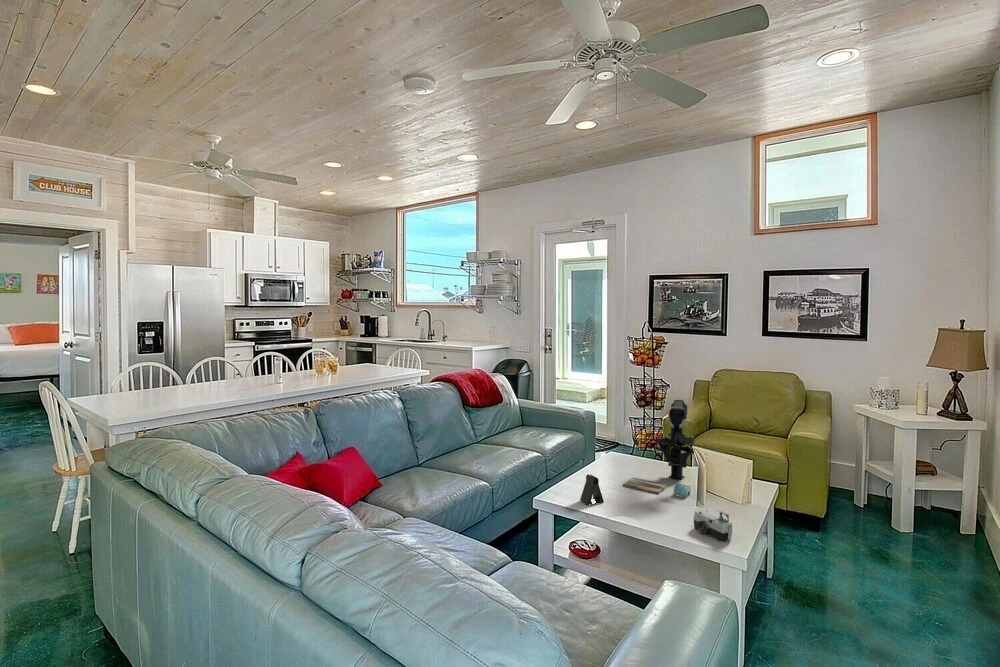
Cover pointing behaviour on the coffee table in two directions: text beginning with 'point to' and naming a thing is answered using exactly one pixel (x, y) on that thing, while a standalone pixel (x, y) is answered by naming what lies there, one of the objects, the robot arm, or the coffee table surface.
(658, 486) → the rail plate
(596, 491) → the phone stand
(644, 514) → the coffee table surface
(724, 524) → the camera
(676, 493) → the block
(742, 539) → the coffee table surface
